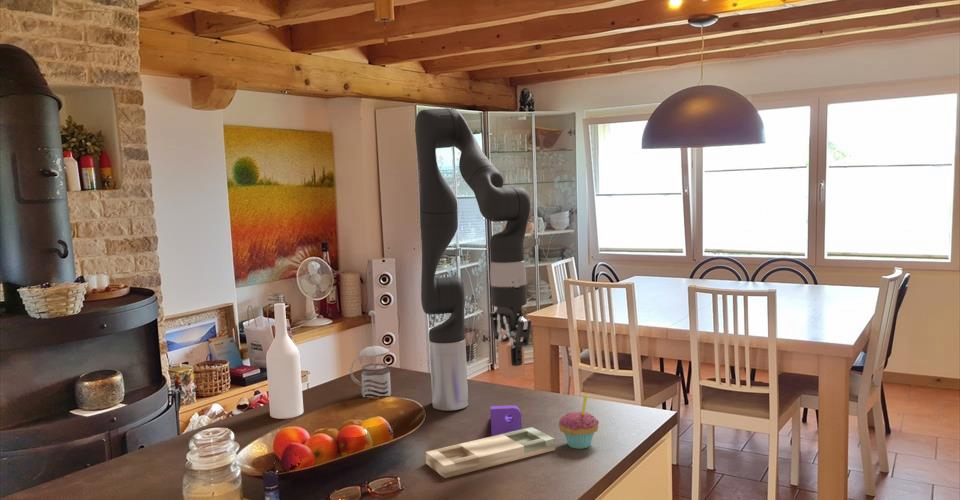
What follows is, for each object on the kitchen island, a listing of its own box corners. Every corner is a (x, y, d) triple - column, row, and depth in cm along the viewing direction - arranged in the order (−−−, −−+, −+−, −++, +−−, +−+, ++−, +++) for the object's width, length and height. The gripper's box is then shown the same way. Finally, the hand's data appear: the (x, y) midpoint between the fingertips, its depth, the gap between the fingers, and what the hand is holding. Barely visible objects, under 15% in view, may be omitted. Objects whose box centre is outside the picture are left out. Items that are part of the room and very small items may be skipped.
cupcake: (602, 439, 153) (600, 386, 152) (595, 453, 145) (593, 397, 144) (563, 436, 155) (561, 384, 154) (555, 450, 147) (553, 395, 146)
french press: (392, 406, 184) (387, 313, 182) (349, 408, 184) (343, 314, 182) (397, 395, 194) (392, 306, 192) (356, 397, 194) (350, 308, 192)
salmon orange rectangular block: (499, 374, 148) (497, 342, 147) (515, 372, 150) (514, 340, 149) (508, 379, 144) (506, 345, 144) (524, 376, 146) (523, 343, 146)
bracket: (521, 437, 157) (520, 407, 157) (491, 438, 157) (490, 409, 157) (519, 420, 169) (517, 392, 169) (491, 421, 169) (489, 393, 169)
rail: (426, 463, 143) (425, 451, 143) (532, 437, 156) (531, 426, 155) (444, 478, 135) (444, 465, 135) (555, 449, 148) (554, 438, 147)
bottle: (270, 418, 178) (262, 302, 175) (303, 414, 180) (295, 300, 177) (270, 428, 170) (261, 307, 167) (304, 424, 172) (296, 304, 170)
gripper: (477, 281, 150) (480, 359, 151) (509, 288, 137) (512, 373, 139) (507, 277, 153) (510, 354, 155) (541, 284, 141) (544, 367, 142)
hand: (511, 362), depth 147 cm, fingers closed on salmon orange rectangular block, 4 cm apart
